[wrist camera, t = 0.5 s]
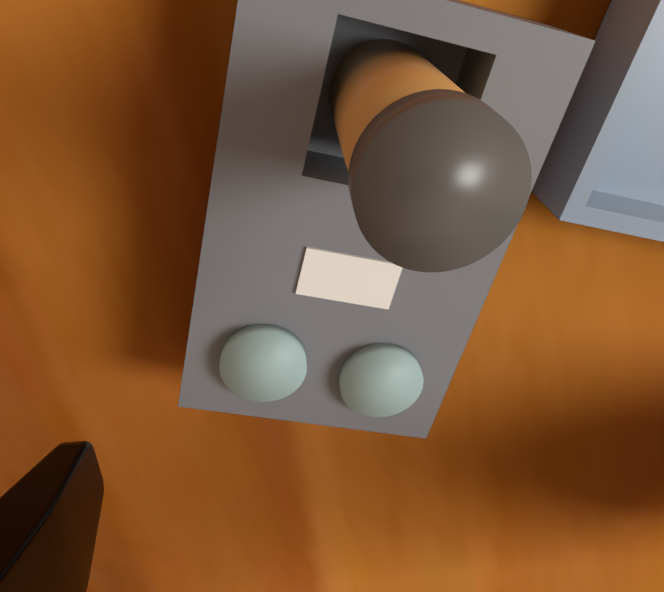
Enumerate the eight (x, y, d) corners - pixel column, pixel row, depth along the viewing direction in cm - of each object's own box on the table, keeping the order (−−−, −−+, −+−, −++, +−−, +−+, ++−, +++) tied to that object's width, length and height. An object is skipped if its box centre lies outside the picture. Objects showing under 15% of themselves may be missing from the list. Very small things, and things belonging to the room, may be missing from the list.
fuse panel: (550, 25, 18) (604, 43, 15) (411, 386, 25) (428, 448, 22) (251, -57, 16) (245, -55, 13) (189, 354, 23) (175, 416, 20)
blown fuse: (452, 51, 18) (561, 124, 11) (417, 161, 19) (492, 285, 13) (341, 22, 17) (381, 82, 10) (314, 138, 19) (334, 256, 12)
